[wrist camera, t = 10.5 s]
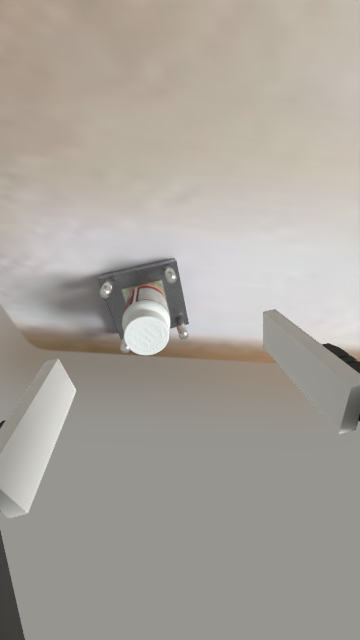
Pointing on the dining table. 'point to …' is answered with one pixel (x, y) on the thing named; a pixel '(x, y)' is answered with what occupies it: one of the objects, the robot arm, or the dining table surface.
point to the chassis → (154, 274)
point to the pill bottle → (146, 320)
